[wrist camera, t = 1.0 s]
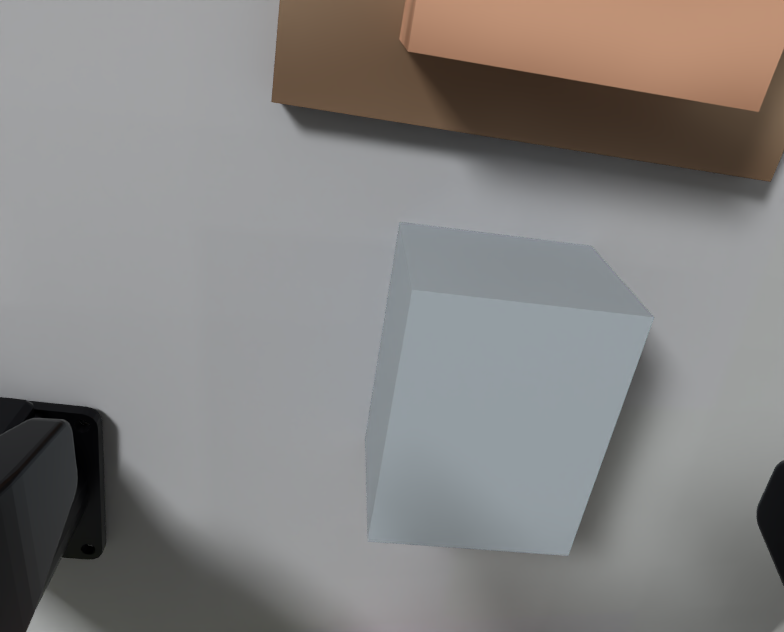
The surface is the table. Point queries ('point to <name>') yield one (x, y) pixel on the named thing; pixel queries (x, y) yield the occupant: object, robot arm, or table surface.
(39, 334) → the table surface
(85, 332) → the table surface
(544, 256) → the grey brick
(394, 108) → the tower base
